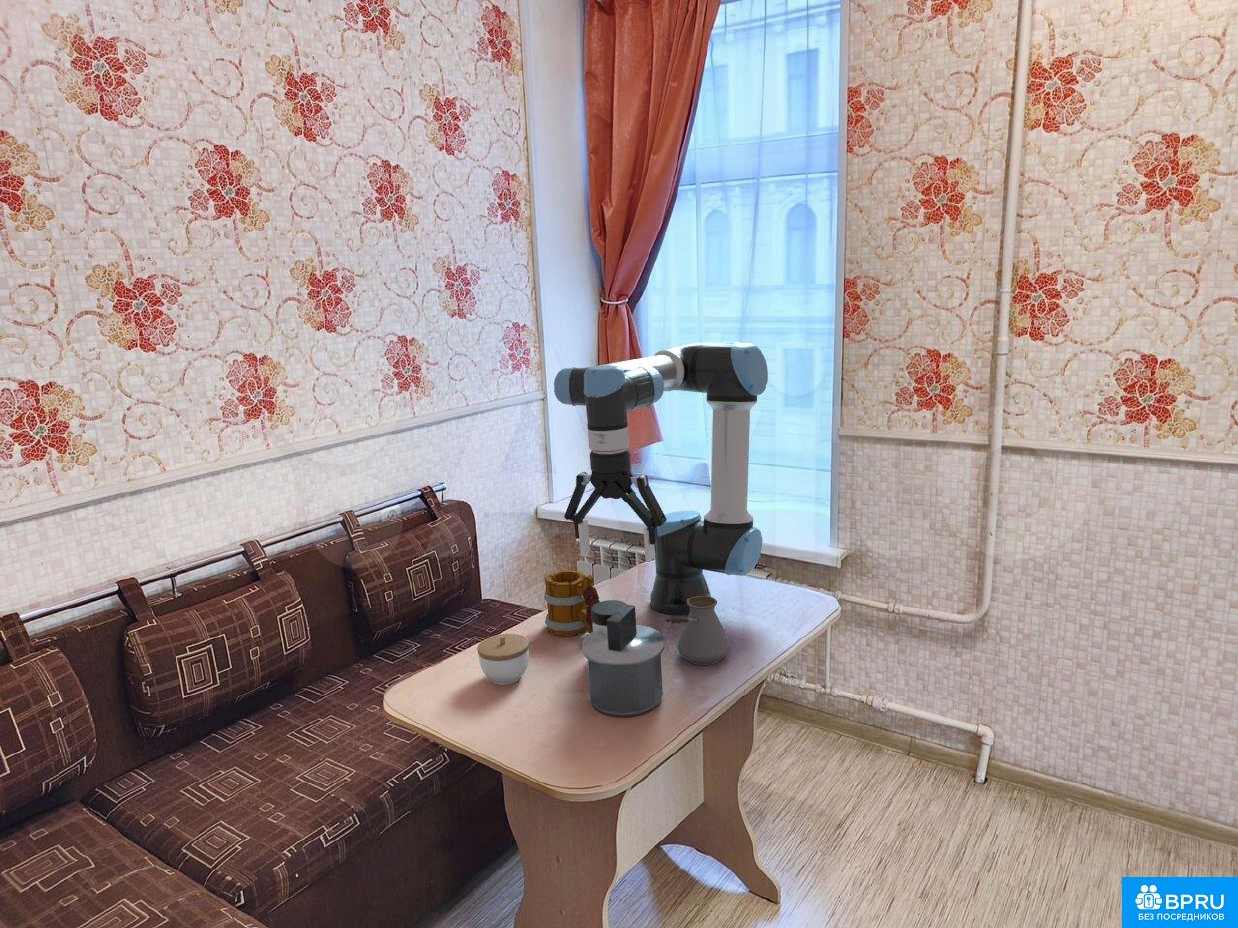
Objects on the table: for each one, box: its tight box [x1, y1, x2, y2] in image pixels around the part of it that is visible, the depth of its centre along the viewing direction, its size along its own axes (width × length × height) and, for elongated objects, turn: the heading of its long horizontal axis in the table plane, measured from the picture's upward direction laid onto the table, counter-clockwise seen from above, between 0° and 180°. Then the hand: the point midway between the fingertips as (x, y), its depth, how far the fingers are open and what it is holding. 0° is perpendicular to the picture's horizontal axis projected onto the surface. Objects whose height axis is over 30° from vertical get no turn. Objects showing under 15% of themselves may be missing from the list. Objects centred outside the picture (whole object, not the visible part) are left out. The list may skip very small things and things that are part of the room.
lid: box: [581, 604, 665, 667], centre depth 160 cm, size 16×16×8 cm
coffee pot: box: [661, 596, 731, 666], centre depth 173 cm, size 21×12×15 cm, turn 147°
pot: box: [585, 633, 664, 718], centre depth 164 cm, size 14×18×11 cm
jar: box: [591, 599, 628, 632], centre depth 179 cm, size 9×8×12 cm
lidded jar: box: [477, 633, 530, 686], centre depth 174 cm, size 11×11×9 cm
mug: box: [543, 569, 601, 637], centre depth 195 cm, size 11×16×15 cm, turn 46°
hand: (617, 556), depth 159 cm, fingers open, 13 cm apart
